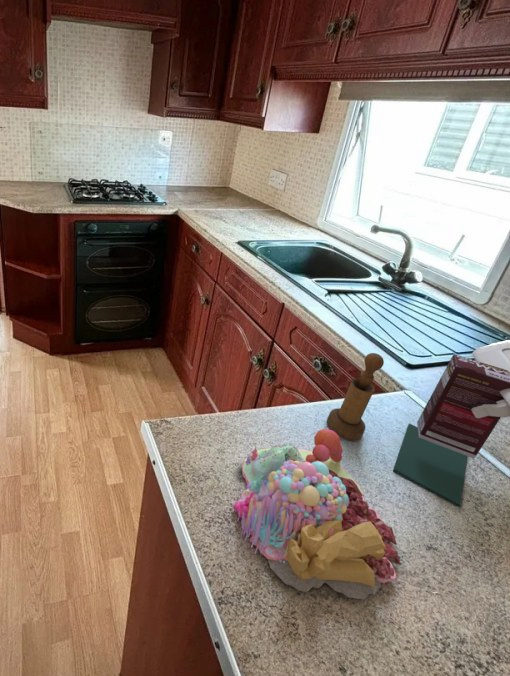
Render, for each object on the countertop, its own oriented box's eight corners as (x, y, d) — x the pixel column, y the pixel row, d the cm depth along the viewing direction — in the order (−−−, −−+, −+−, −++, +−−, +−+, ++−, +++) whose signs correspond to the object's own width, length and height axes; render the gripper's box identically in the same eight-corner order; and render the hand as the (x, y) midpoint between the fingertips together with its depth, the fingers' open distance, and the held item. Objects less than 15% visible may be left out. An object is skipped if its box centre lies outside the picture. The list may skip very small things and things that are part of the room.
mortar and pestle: (321, 426, 81) (351, 352, 73) (333, 411, 85) (363, 340, 77) (355, 446, 77) (391, 371, 69) (366, 430, 81) (402, 357, 73)
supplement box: (469, 442, 73) (515, 371, 66) (474, 460, 69) (523, 387, 62) (414, 421, 76) (452, 352, 69) (416, 437, 72) (457, 365, 65)
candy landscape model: (432, 588, 55) (464, 547, 51) (277, 620, 50) (298, 577, 45) (322, 444, 76) (338, 407, 72) (206, 455, 71) (216, 416, 67)
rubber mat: (408, 424, 84) (409, 423, 83) (466, 452, 78) (467, 451, 78) (392, 470, 72) (393, 469, 72) (459, 507, 67) (460, 505, 67)
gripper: (524, 322, 70) (436, 353, 77) (602, 394, 53) (479, 425, 60) (541, 350, 71) (453, 378, 78) (623, 430, 54) (499, 457, 60)
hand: (464, 399), depth 69 cm, fingers closed on supplement box, 5 cm apart
